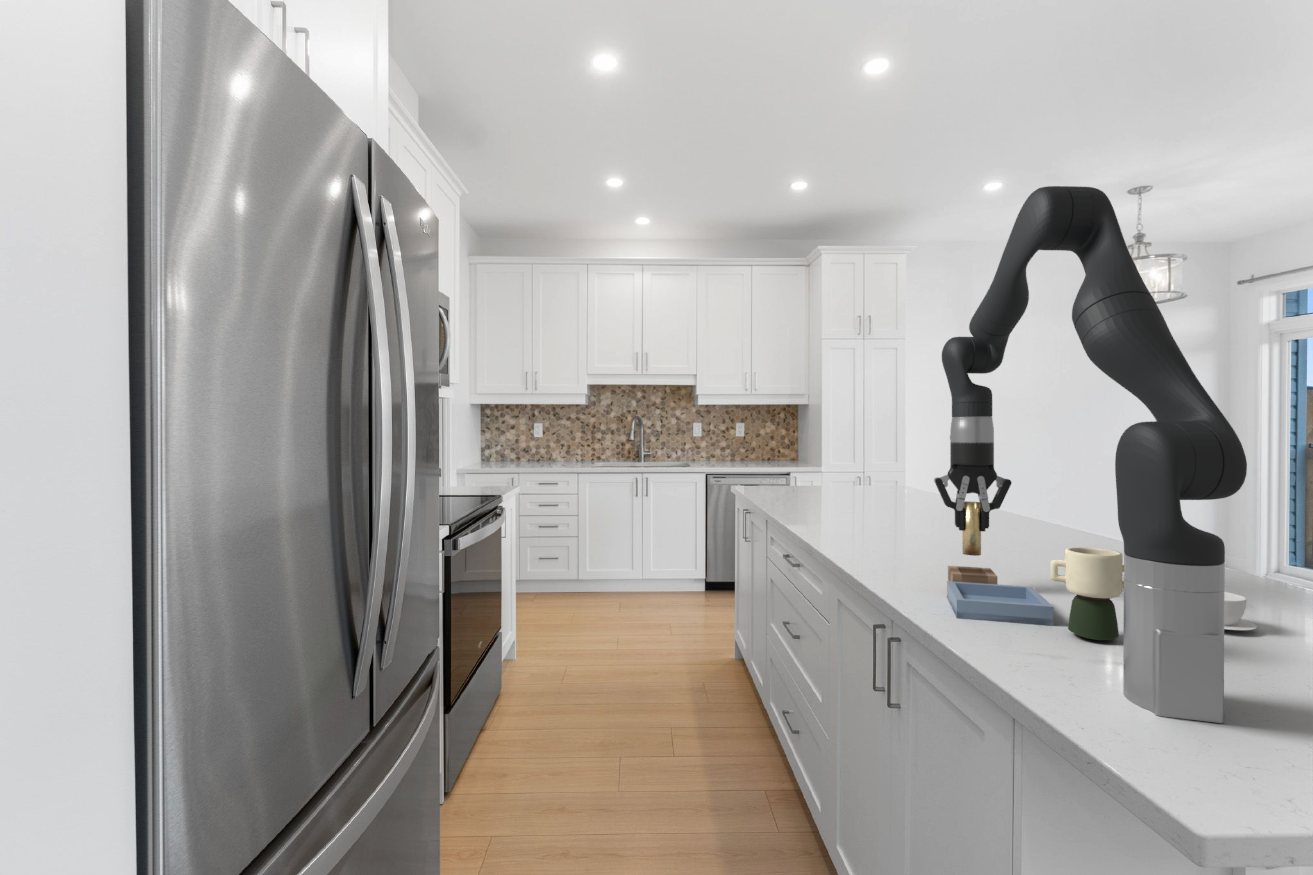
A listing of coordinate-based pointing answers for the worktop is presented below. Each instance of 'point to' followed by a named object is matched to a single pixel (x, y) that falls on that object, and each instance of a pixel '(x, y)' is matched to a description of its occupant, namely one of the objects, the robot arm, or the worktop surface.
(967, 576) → the bracket
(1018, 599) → the tray
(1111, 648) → the worktop surface
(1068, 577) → the character mug
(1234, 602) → the teacup
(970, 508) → the pin
